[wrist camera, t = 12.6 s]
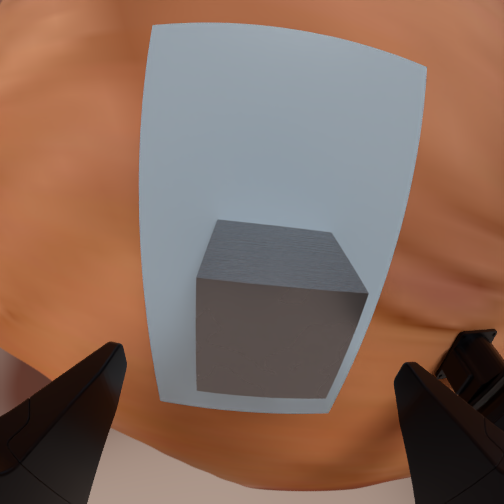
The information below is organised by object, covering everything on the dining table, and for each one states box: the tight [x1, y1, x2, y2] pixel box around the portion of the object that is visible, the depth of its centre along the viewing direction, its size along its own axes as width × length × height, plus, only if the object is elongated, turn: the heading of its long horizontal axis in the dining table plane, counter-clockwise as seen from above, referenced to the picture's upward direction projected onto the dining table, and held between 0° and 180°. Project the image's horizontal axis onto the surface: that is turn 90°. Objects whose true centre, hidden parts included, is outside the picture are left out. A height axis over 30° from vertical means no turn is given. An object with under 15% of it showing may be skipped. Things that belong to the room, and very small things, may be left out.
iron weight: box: [196, 219, 369, 399], centre depth 11 cm, size 5×5×5 cm
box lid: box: [139, 23, 427, 414], centre depth 14 cm, size 12×22×1 cm, turn 174°
